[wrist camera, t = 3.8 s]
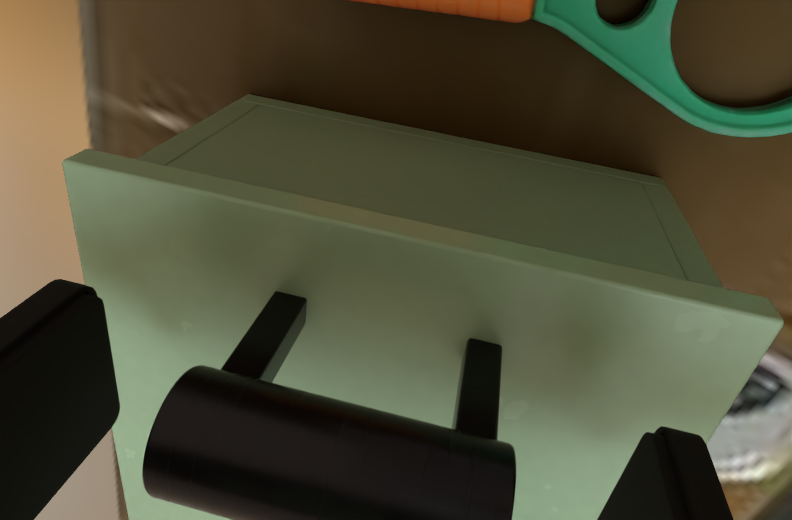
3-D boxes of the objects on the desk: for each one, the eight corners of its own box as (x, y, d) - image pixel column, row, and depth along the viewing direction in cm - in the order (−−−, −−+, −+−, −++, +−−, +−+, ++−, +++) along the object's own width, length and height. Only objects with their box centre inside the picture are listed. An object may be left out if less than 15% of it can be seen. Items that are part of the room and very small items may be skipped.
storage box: (247, 92, 19) (94, 181, 12) (663, 177, 17) (748, 328, 11) (247, 403, 26) (154, 561, 20) (535, 477, 25) (539, 674, 18)
